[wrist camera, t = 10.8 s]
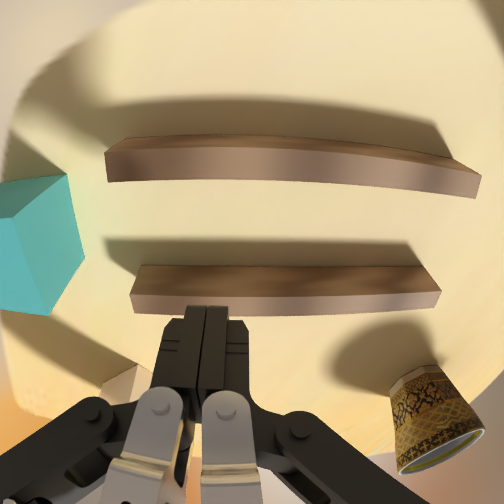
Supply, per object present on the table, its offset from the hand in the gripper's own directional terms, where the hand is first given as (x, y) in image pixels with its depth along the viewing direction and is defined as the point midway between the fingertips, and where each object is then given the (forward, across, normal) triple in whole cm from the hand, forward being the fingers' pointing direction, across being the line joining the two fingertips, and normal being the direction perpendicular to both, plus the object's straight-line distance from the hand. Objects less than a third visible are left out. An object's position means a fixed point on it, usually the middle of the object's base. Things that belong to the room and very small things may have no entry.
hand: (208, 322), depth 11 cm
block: (+8, +13, 0) cm, 15 cm away
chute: (+8, -5, 0) cm, 9 cm away
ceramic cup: (+9, -22, +20) cm, 31 cm away
